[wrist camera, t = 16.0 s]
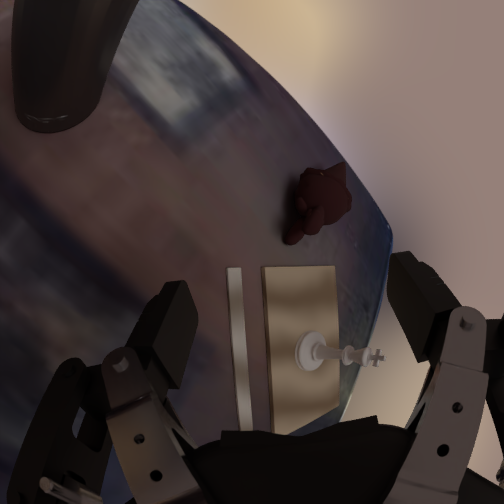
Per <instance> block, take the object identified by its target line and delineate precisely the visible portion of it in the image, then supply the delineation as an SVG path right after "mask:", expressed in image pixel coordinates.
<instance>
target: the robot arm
mask: <svg viewBox="0 0 504 504" xmlns="http://www.w3.org/2000/svg"><path fill="white" fill-rule="evenodd" d="M138 2H139V0H14V8H13V18H12V34H11V66H12V83H13V94H14V102H15V109H16V113H17V116H18V119H19V120H20V121H21V123H22V124H23V125H25V126H26V127H27V128H29V129H31V130H34V131H37V132H44V133H46V132H57V131H61V130H65V129H68V128H70V127H73V126H75V125H76V124H78V123H80V122H81V121H83V120H84V119H85V118H86V117H88V116H89V115H90V114H91V113H92V111H93V110H94V109H95V108H96V106H97V104H98V102H99V101H100V97H101V94H102V90H103V87H104V84H105V81H106V78H107V75H108V72H109V69H110V67H111V64H112V61H113V58H114V56H115V53H116V50H117V48H118V45H119V43H120V40H121V38H122V36H123V33H124V31H125V29H126V26H127V24H128V22H129V20H130V18H131V16H132V14H133V11H134V9H135V7H136V5H137V4H138ZM387 297H388V300H389V302H390V305H391V307H392V308H393V310H394V313H395V315H396V317H397V319H398V321H399V323H400V325H401V327H402V329H403V331H404V333H405V335H406V338H407V339H408V342H409V344H410V346H411V348H412V351H413V353H414V355H415V358H416V360H417V362H418V363H420V362H424V361H427V360H429V363H430V368H429V370H428V373H427V375H426V378H425V381H424V384H423V387H422V390H421V392H420V395H419V398H418V400H417V403H416V406H415V408H414V410H413V412H412V414H411V416H410V418H409V420H408V422H407V424H406V426H405V428H401V427H398V426H393V425H387V424H378V419H377V416H376V415H375V416H370V417H366V418H361V419H356V420H351V421H345V422H339V423H337V424H334V425H332V426H329V427H327V428H324V429H321V430H318V431H316V432H313V433H310V434H307V435H304V436H289V435H283V434H276V433H270V432H265V431H259V430H256V431H224V430H222V432H221V440H216V441H213V442H210V443H207V444H205V445H202V446H200V447H198V446H197V445H196V443H195V442H194V441H193V439H192V438H191V437H190V435H189V434H188V432H187V431H186V429H185V427H184V426H183V424H182V422H181V420H180V419H179V417H178V415H177V413H176V411H175V410H174V408H173V406H172V404H171V402H170V400H169V398H168V397H167V396H166V395H167V391H168V389H180V385H181V382H182V378H183V375H184V371H185V367H186V364H187V360H188V357H189V353H190V350H191V346H192V343H193V340H194V336H195V333H196V329H197V326H198V312H197V309H196V306H195V304H194V301H193V299H192V296H191V293H190V291H189V288H188V285H187V283H186V282H185V281H184V280H180V281H171V282H166V283H165V284H164V286H163V288H162V289H161V291H160V293H159V295H155V296H154V297H153V298H152V299H151V300H150V301H149V302H148V303H147V305H146V307H145V308H144V310H143V312H142V313H143V314H141V316H140V318H139V322H137V323H136V325H135V327H134V329H133V331H132V333H131V335H130V337H129V339H128V341H127V343H126V345H125V347H120V348H117V349H115V350H113V351H111V352H110V353H109V354H108V355H107V356H106V357H105V358H104V360H103V362H102V364H99V365H95V366H90V367H86V365H85V364H84V363H83V362H82V360H81V359H79V358H70V359H67V360H66V361H64V362H63V363H62V364H61V365H60V366H59V367H58V369H57V370H56V372H55V374H54V376H53V378H52V380H51V382H50V384H49V386H48V388H47V390H46V392H45V394H44V396H43V398H42V400H41V402H40V404H39V406H38V408H37V411H36V413H35V415H34V417H33V420H32V422H31V424H30V427H29V429H28V431H27V434H26V436H25V439H24V441H23V444H22V447H21V449H20V452H19V455H18V458H17V461H16V464H15V467H14V470H13V473H12V476H11V479H10V483H9V486H8V490H7V504H103V502H102V499H101V497H100V492H101V488H102V483H103V479H104V475H105V471H106V467H107V463H108V459H109V455H110V451H111V448H112V444H113V445H114V448H115V451H116V454H117V457H118V459H119V462H120V465H121V467H122V470H123V473H124V475H125V477H126V480H127V482H128V485H129V487H130V489H131V492H132V494H133V496H134V497H133V498H132V499H131V500H129V501H128V502H126V503H125V504H504V459H503V461H502V464H501V467H500V469H499V470H498V472H497V475H496V479H497V481H498V482H500V483H499V486H498V485H496V484H494V483H493V482H491V481H489V480H487V479H486V478H484V477H482V476H480V475H479V474H477V473H475V472H474V471H472V470H471V469H469V468H467V465H468V463H469V460H470V457H471V454H472V451H473V447H474V444H475V440H476V437H477V433H478V430H479V426H480V422H481V418H482V413H483V408H484V404H485V399H486V401H487V404H488V407H489V410H490V413H491V415H492V418H493V421H494V424H495V428H496V431H497V434H498V438H499V442H500V445H501V449H502V453H503V458H504V314H503V316H502V319H487V320H486V319H485V317H484V316H483V315H482V314H481V313H480V312H479V311H478V310H476V309H474V308H472V307H467V306H462V305H461V304H460V303H459V301H458V300H457V299H456V297H455V296H454V295H453V293H452V292H451V291H450V289H449V288H448V287H447V285H446V284H444V282H443V280H442V279H441V278H440V277H439V276H438V274H437V273H436V272H435V270H434V269H433V268H432V267H430V266H429V265H427V264H425V263H424V262H418V260H417V259H416V258H415V257H414V255H413V254H412V253H411V252H410V251H405V252H398V253H392V254H391V255H390V260H389V270H388V280H387ZM79 407H81V408H82V409H83V410H84V411H85V412H86V414H85V416H84V419H83V422H82V424H81V427H80V430H79V433H78V436H77V438H75V437H74V435H73V432H72V425H73V422H74V419H75V417H76V414H77V412H78V409H79Z"/></svg>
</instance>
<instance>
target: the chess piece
mask: <svg viewBox="0 0 504 504" xmlns="http://www.w3.org/2000/svg"><path fill="white" fill-rule="evenodd" d="M381 353H382V350H381V349H377V351H376V355H373V353H372V350H371V348H369V347H366V348H363V349H360V350H356V351H354V348H353V347H352V346H350V345H348V346H346V347H345V349H344V350H340V349H335V348H331V347H328V346H326V342H325V339H324V337H323V335H322V334H321V333H319V332H317V331H313V330H309V331H306V332H305V333H303V334H302V335H301V337H300V338H299V340H298V342H297V344H296V348H295V360H296V363H297V365H298V367H299V368H300V369H302V370H304V371H312V370H315V369H317V368H318V367H319V366H320V365H321V363H322V362H323V360H324V359H342V362H343V364H344V365H349V364H351V363H352V361H354V362H356V363H358V364H360V365H362V366H364V367H367V366H368V365H369V364H370V363H371V361H372V360H374V363H373V366H375V367H378V365H379V361H385V360H386V357H385V356H381Z"/></svg>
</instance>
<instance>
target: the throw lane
mask: <svg viewBox="0 0 504 504" xmlns="http://www.w3.org/2000/svg"><path fill="white" fill-rule="evenodd" d="M261 273H262V287H263V302H264V317H265V332H266V348H267V364H268V380H269V397H270V414H271V432H272V433H276V434H283V435H287V434H289V433H291V432H292V431H294V430H296V429H298V428H300V427H302V426H304V425H306V424H308V423H309V422H311V421H313V420H315V419H317V418H318V417H320V416H322V415H324V414H325V413H327V412H329V411H330V410H332V409H334V408H335V407H337V406H338V405H339V359H324V360H323V362H322V363H321V365H320V366H319V367H318V368H317V369H315V370H312V371H304V370H302V369H300V368H299V367H298V365H297V363H296V360H295V348H296V344H297V342H298V340H299V338H300V337H301V335H302V334H303V333H305V332H306V331H309V330H313V331H317V332H319V333H321V334H322V335H323V337H324V339H325V342H326V346H328V347H331V348H335V349H339V327H338V306H337V290H336V277H335V266H301V267H262V268H261ZM226 277H227V293H228V308H229V322H230V335H231V348H232V360H233V371H234V383H235V393H236V404H237V414H238V423H239V431H253V426H252V414H251V402H250V389H249V377H248V364H247V350H246V336H245V322H244V308H243V293H242V278H241V268H226Z"/></svg>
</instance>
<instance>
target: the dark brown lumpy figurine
mask: <svg viewBox="0 0 504 504" xmlns="http://www.w3.org/2000/svg"><path fill="white" fill-rule="evenodd" d="M294 196H295V207H296V210H297V211H298V212H299V215H300V216H301V218H299V219H298V220H297V221H296V223H295V224H294V225H293V226H292V227H291V229H290V230H289V231H288V233H287V235H286V237H285V243H286V244H288V245H294V244H296V243H297V242H298V241H300V240H301V239H302V238H303V236H304V234H306V235H315V234H317V233H318V232H319V231H320V229H321V227H322V226H323V225H330V224H333V223H335V222H337V221H338V220H339V219H340V218H341V217H342V216H343V215H344V214H345V213H346V212H348V211H350V210H351V202H352V196H351V194H350V192H349V191H348V189H347V188H346V166H345V162H341V163H338V164H336V165H334V166H332V167H330V168H328V169H326V170H317V169H313V168H307V169H306V170H305V171H304V173H303V174H301V175H300V182H299V185H298V188H297V190H296V191H295V192H294Z"/></svg>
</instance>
